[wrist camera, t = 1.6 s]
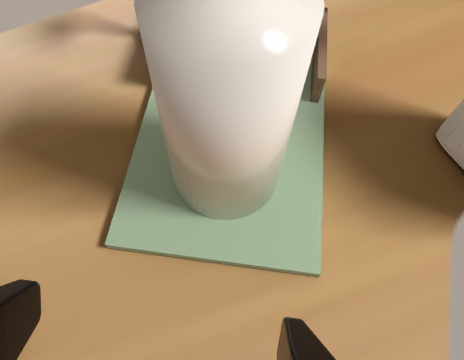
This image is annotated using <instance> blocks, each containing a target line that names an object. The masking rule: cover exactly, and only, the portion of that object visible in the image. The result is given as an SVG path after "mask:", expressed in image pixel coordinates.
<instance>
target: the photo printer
mask: <svg viewBox="0 0 464 360" xmlns="http://www.w3.org/2000/svg"><path fill="white" fill-rule="evenodd" d="M436 137H437V139H438V141H439V142H440V144H441V145H442V147H443V148H444V149H445V150H446V151H447V153H448V154H449V155H450V156H451V157H452V158H453V159H454V160H455V161H456V162H457V163H458V165H459V166H460V167H461V168H462V169H463V170H464V100H463V101H462V102H461V103H460V104H459V105H458V106H457V108H456V109H455V110H454V111H453V112H452V113H451V115H450V116H449V117H448V118H447V119H446V120H445V121H444V123H443V124H442V125H441V126H440V128H439V130H438V132H437V133H436Z"/></svg>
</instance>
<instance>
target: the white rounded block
mask: <svg viewBox="0 0 464 360" xmlns="http://www.w3.org/2000/svg"><path fill="white" fill-rule="evenodd" d="M134 6H135V11H136V16H137V21H138V25H139V29H140V34H141V38H142V43H143V47H144V52H145V56H146V60H147V65H148V69H149V74H150V78H151V83H152V87H153V91H154V96H155V100H156V105H157V109H158V113H159V118H160V122H161V127H162V131H163V136H164V140H165V144H166V149H167V153H168V158H169V162H170V167H171V171H172V175H173V180H174V184H175V187H176V190H177V192H178V194H179V196H180V197H181V199H182V200H183V201H184V202H185V203H186V204H187V206H189V207H190V208H191V209H192V210H194V211H195V212H197V213H199V214H201V215H203V216H206V217H209V218H212V219H218V220H234V219H239V218H243V217H246V216H249V215H251V214H253V213H255V212H256V211H258V210H259V209H261V208H262V207H263V206H264V205H265V204H266V203H267V202H268V201H269V200H270V198H271V196H272V195H273V193H274V191H275V188H276V185H277V181H278V178H279V174H280V171H281V167H282V163H283V160H284V156H285V152H286V149H287V145H288V141H289V138H290V134H291V131H292V127H293V123H294V120H295V116H296V112H297V109H298V105H299V102H300V98H301V94H302V91H303V87H304V83H305V80H306V76H307V73H308V69H309V65H310V62H311V58H312V54H313V51H314V47H315V44H316V40H317V36H318V33H319V29H320V25H321V22H322V18H323V14H324V0H134Z"/></svg>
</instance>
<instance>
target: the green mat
mask: <svg viewBox="0 0 464 360" xmlns="http://www.w3.org/2000/svg"><path fill="white" fill-rule="evenodd" d="M311 71H312V58H311V62H310V65H309V69H308V73H307V76H306V80H305V83H304V87H303V91H302V94H301V98H300V102H299V105H298V109H297V112H296V116H295V120H294V123H293V127H292V131H291V134H290V138H289V141H288V145H287V149H286V152H285V156H284V160H283V163H282V167H281V171H280V174H279V178H278V181H277V185H276V188H275V191H274V193H273V195H272V196H271V198H270V200H269V201H268V202H267V203H266V204H265V205H264V206H263V207H262V208H261V209H259V210H258V211H256V212H255V213H253V214H251V215H249V216H246V217H243V218H239V219H234V220H218V219H212V218H209V217H206V216H203V215H201V214H199V213H197V212H195V211H194V210H192V209H191V208H190V207H189V206H187V204H186V203H185V202H184V201H183V200H182V199H181V197H180V196H179V194H178V192H177V190H176V187H175V184H174V180H173V175H172V171H171V167H170V162H169V158H168V153H167V149H166V144H165V140H164V136H163V131H162V127H161V122H160V118H159V113H158V109H157V105H156V100H155V96H154V91H153V88H152V91H151V95H150V98H149V101H148V105H147V108H146V111H145V114H144V118H143V121H142V124H141V127H140V131H139V134H138V137H137V140H136V144H135V147H134V150H133V153H132V157H131V160H130V163H129V167H128V170H127V173H126V176H125V180H124V183H123V186H122V189H121V193H120V196H119V199H118V202H117V206H116V209H115V212H114V215H113V219H112V222H111V225H110V229H109V232H108V235H107V238H106V242H105V246H106V247H107V248H110V249H118V250H125V251H132V252H140V253H147V254H154V255H161V256H169V257H176V258H183V259H191V260H198V261H205V262H212V263H220V264H227V265H234V266H241V267H249V268H256V269H263V270H271V271H278V272H285V273H292V274H300V275H307V276H314V277H319V276H320V275H321V252H322V200H323V147H324V94H325V85H324V88H323V90H322V93H321V96H320V99H319V102H318V103H314V102H310V95H311Z"/></svg>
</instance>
